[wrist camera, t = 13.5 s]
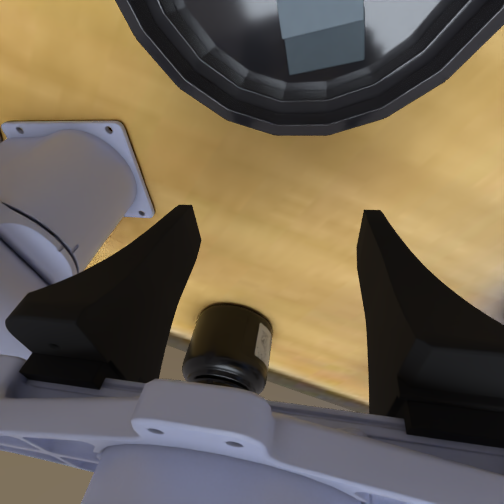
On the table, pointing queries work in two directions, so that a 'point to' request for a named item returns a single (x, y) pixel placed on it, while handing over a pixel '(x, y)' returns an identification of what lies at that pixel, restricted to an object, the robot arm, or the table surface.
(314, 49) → the grey flat-sided piece
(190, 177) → the table surface
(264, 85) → the pan
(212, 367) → the ink bottle
